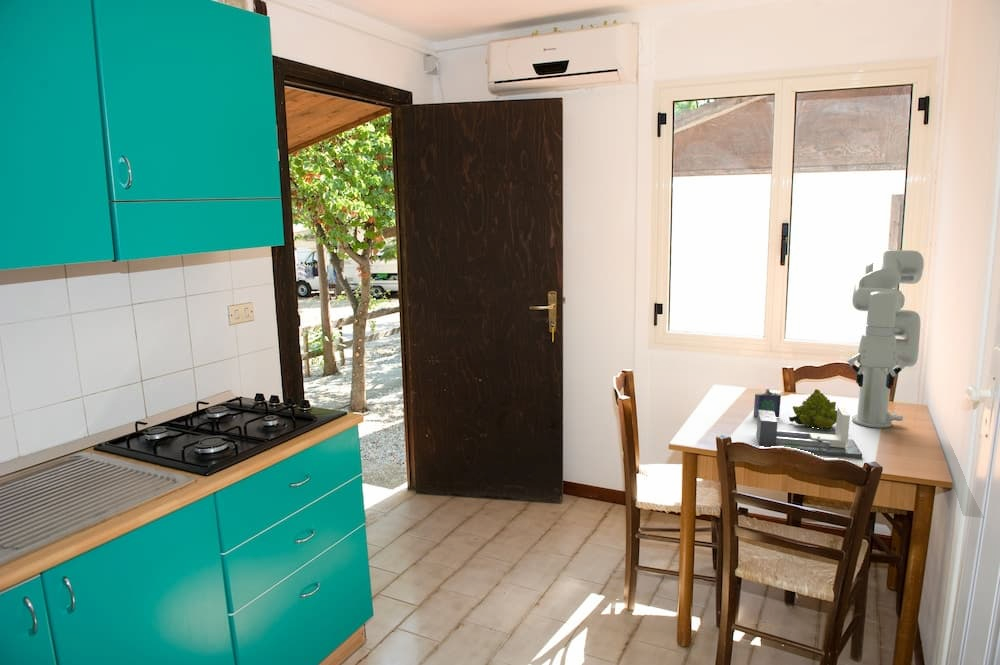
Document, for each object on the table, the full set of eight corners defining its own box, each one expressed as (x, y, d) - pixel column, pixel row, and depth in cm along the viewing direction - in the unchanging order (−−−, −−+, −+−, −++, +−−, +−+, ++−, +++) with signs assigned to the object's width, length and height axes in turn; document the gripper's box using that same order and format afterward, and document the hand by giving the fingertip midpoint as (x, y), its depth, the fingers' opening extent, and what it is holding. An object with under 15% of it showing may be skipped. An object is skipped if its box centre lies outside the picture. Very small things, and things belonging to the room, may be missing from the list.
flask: (754, 417, 247) (756, 390, 245) (752, 415, 250) (754, 387, 248) (780, 418, 246) (782, 390, 244) (777, 416, 249) (779, 388, 247)
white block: (841, 440, 217) (844, 407, 215) (847, 451, 207) (851, 417, 205) (808, 437, 220) (810, 405, 218) (813, 448, 210) (815, 414, 208)
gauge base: (852, 443, 219) (855, 416, 217) (862, 459, 206) (864, 430, 204) (756, 435, 228) (758, 409, 226) (759, 449, 214) (761, 421, 213)
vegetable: (777, 413, 240) (803, 379, 237) (804, 430, 246) (829, 398, 243) (804, 433, 226) (832, 398, 224) (831, 450, 233) (859, 417, 230)
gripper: (908, 330, 205) (902, 385, 208) (846, 328, 210) (841, 381, 214) (915, 335, 198) (908, 392, 201) (851, 332, 203) (845, 387, 207)
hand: (874, 386), depth 207 cm, fingers open, 7 cm apart
